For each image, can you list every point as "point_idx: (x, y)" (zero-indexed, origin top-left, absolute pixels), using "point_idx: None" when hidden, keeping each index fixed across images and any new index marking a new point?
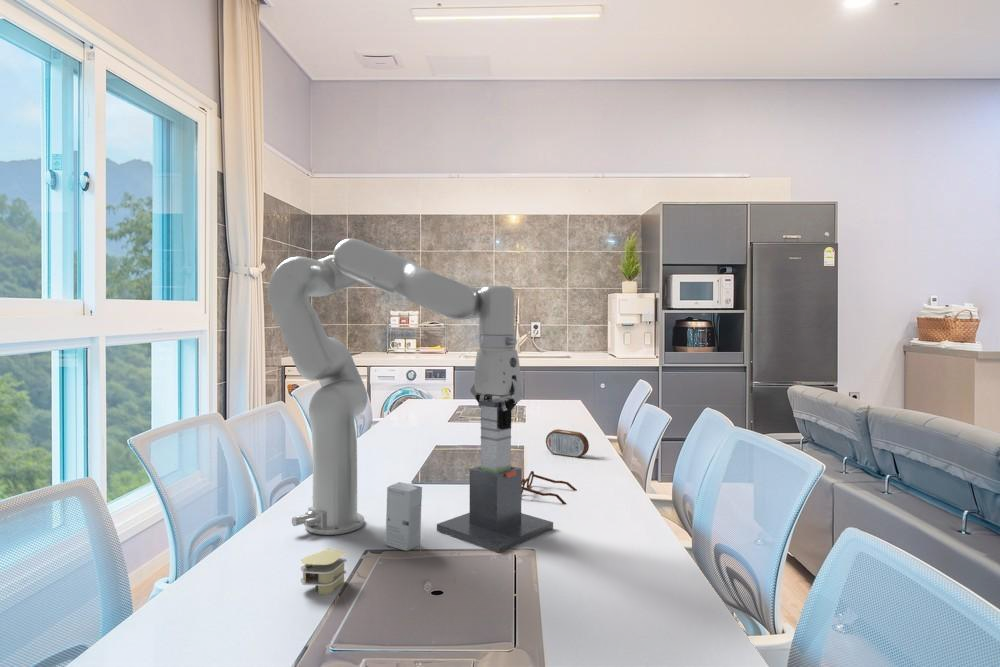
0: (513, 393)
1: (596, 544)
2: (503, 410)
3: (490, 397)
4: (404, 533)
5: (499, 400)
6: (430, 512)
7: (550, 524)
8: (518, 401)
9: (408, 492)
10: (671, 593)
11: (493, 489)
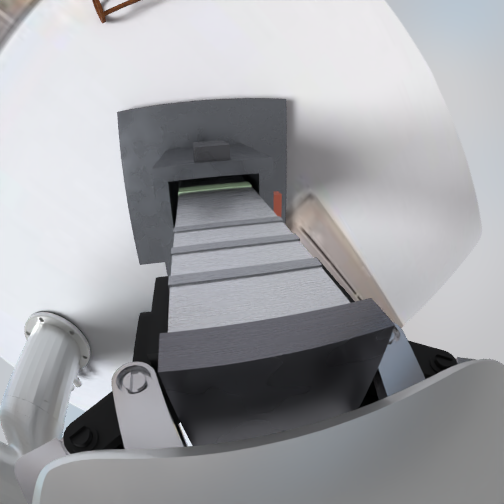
0: (443, 383)
1: (367, 115)
2: None
3: (180, 440)
4: None
5: (306, 414)
6: (58, 215)
7: (285, 107)
8: (457, 360)
9: None
10: (453, 189)
11: None
